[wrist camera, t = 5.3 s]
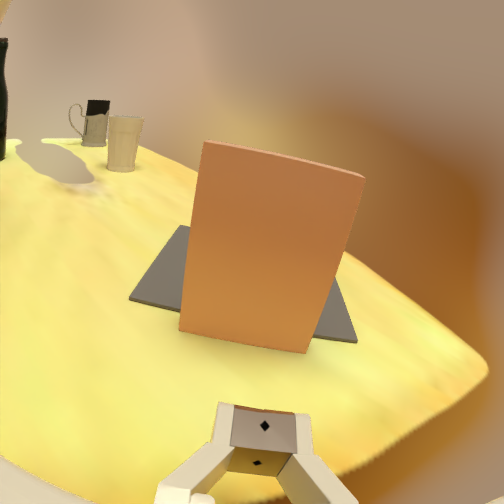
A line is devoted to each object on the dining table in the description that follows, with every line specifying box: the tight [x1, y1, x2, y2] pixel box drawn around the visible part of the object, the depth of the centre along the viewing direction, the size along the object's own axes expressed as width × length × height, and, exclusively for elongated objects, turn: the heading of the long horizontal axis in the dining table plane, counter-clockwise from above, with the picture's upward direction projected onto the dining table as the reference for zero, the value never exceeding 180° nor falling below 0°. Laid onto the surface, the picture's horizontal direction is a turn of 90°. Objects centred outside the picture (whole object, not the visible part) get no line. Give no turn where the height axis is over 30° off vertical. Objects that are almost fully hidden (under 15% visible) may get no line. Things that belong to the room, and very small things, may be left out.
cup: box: [107, 115, 144, 172], centre depth 63 cm, size 8×8×12 cm
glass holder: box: [69, 100, 110, 147], centre depth 85 cm, size 9×14×15 cm, turn 130°
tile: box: [179, 140, 366, 354], centre depth 22 cm, size 2×10×14 cm, turn 88°
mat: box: [129, 225, 358, 343], centre depth 34 cm, size 18×20×1 cm
